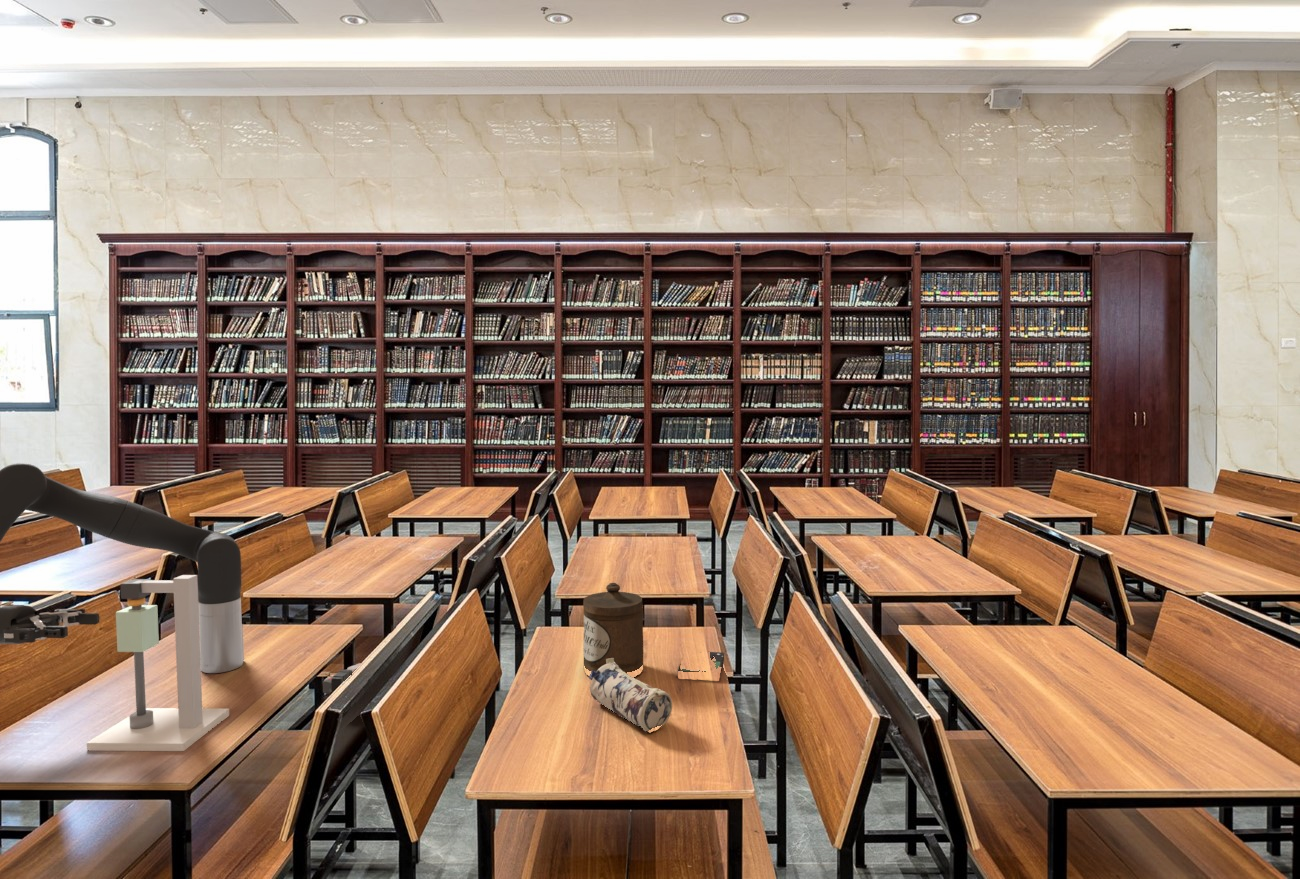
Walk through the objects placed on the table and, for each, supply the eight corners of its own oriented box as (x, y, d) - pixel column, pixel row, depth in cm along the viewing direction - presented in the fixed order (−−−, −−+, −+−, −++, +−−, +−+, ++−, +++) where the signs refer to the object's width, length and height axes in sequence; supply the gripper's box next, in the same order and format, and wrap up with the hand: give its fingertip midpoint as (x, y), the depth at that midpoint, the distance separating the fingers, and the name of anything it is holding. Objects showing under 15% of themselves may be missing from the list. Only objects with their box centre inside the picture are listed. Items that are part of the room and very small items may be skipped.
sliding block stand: (142, 714, 164) (136, 567, 161) (229, 715, 164) (224, 567, 161) (87, 750, 148) (79, 586, 145) (183, 751, 148) (176, 587, 145)
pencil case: (586, 705, 170) (586, 661, 170) (618, 695, 175) (618, 654, 175) (644, 742, 153) (644, 694, 152) (677, 730, 158) (677, 684, 157)
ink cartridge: (342, 713, 165) (341, 677, 164) (332, 713, 165) (331, 677, 164) (354, 703, 170) (352, 668, 169) (344, 703, 170) (343, 668, 169)
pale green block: (134, 643, 157) (132, 605, 156) (158, 643, 157) (157, 605, 156) (117, 651, 152) (115, 612, 151) (142, 652, 152) (140, 612, 151)
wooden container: (575, 665, 194) (575, 579, 193) (630, 657, 200) (630, 573, 198) (594, 686, 181) (594, 594, 179) (652, 677, 186) (653, 587, 185)
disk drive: (684, 660, 200) (677, 681, 185) (684, 649, 199) (677, 669, 185) (724, 662, 198) (720, 684, 183) (724, 652, 198) (720, 672, 183)
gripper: (-31, 616, 147) (54, 617, 147) (30, 596, 161) (107, 597, 161) (-28, 655, 147) (56, 655, 147) (32, 631, 162) (108, 632, 162)
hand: (82, 625), depth 154 cm, fingers open, 8 cm apart
